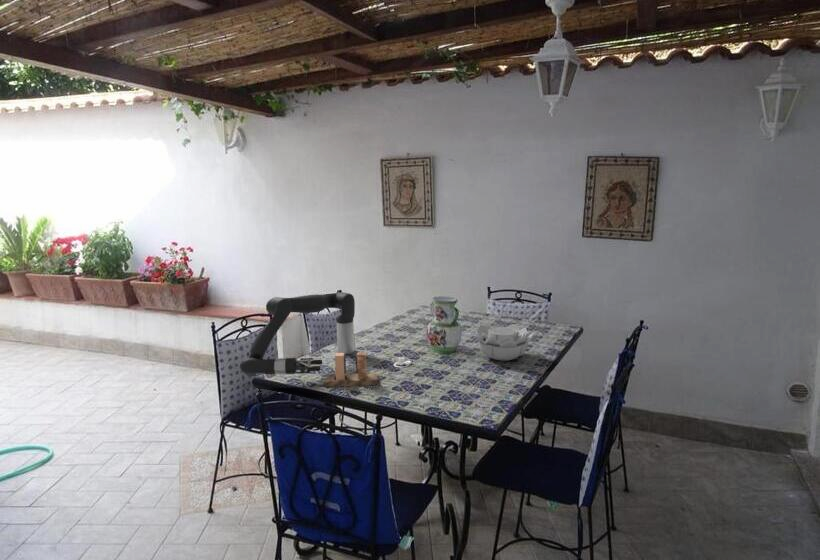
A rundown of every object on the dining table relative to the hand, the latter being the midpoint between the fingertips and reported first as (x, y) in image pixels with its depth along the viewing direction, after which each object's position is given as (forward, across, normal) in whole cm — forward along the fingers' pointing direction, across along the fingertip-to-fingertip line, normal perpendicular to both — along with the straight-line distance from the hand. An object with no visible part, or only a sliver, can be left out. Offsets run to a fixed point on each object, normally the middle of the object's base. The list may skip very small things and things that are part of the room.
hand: (321, 365), depth 240 cm
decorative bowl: (+92, +28, +9) cm, 96 cm away
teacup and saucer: (+40, +20, +10) cm, 45 cm away
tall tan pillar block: (+9, 0, +9) cm, 13 cm away
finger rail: (+14, 0, +9) cm, 17 cm away
